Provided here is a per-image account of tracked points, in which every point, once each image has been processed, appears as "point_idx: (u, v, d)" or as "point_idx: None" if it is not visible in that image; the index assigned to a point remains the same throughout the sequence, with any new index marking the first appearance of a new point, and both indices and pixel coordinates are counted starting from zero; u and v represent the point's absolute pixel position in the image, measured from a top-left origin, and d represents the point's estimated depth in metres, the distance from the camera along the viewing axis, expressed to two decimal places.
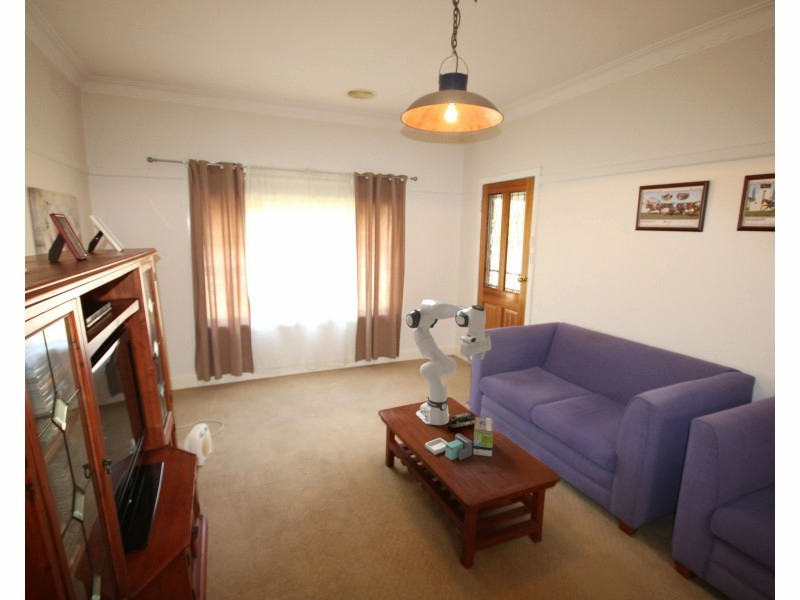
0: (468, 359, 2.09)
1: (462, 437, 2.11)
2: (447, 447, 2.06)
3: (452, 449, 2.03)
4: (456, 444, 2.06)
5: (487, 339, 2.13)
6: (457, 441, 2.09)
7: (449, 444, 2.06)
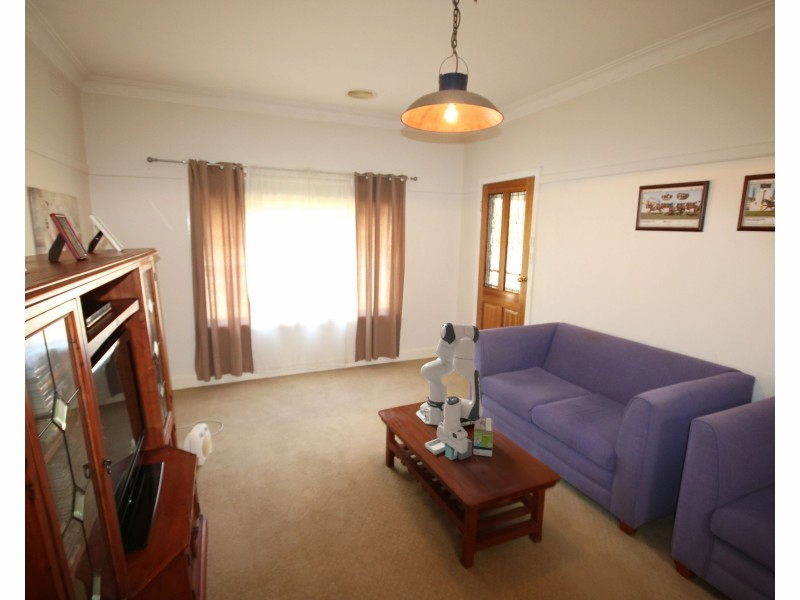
0: (456, 452, 2.03)
1: None
2: (447, 447, 2.06)
3: (452, 449, 2.03)
4: None
5: None
6: None
7: None
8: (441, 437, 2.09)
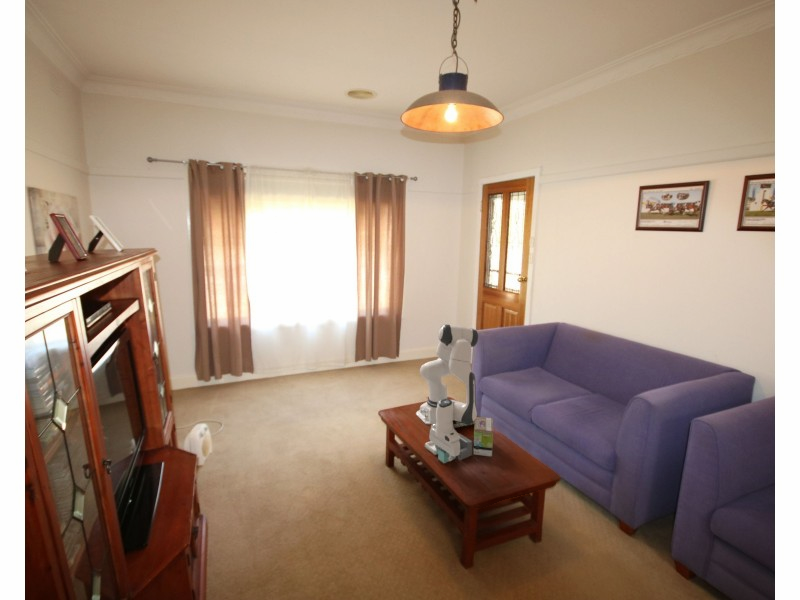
0: (451, 457, 1.99)
1: (462, 437, 2.11)
2: (440, 450, 2.03)
3: (445, 452, 2.01)
4: None
5: None
6: None
7: None
8: (434, 440, 2.06)
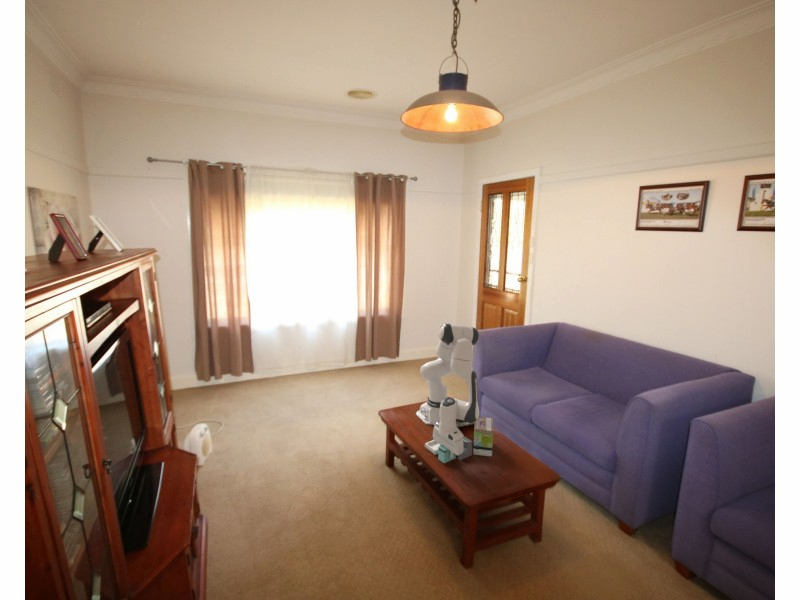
0: (452, 454, 2.01)
1: None
2: (440, 450, 2.03)
3: (445, 452, 2.01)
4: None
5: None
6: None
7: (442, 447, 2.03)
8: (437, 439, 2.07)
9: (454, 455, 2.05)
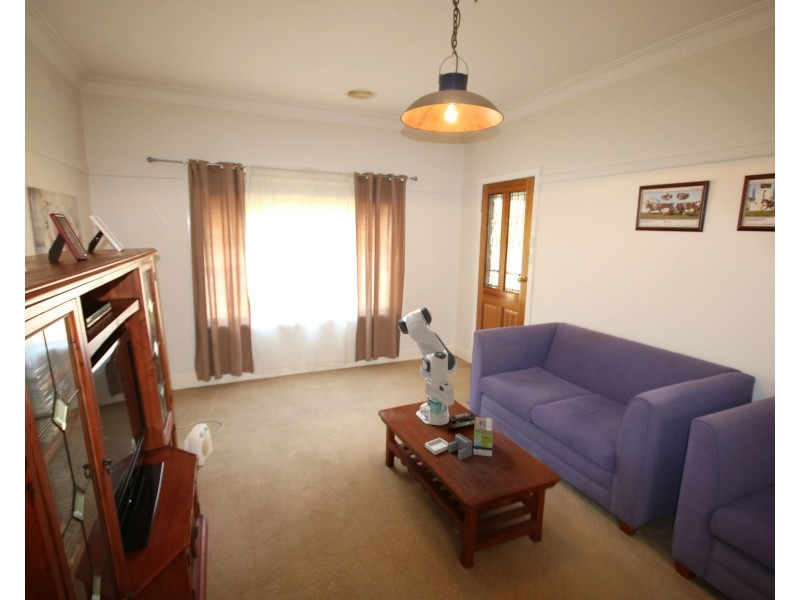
0: (443, 406, 2.07)
1: (462, 437, 2.11)
2: (431, 402, 2.09)
3: (436, 404, 2.07)
4: None
5: None
6: None
7: (433, 399, 2.09)
8: (429, 393, 2.13)
9: (445, 408, 2.11)
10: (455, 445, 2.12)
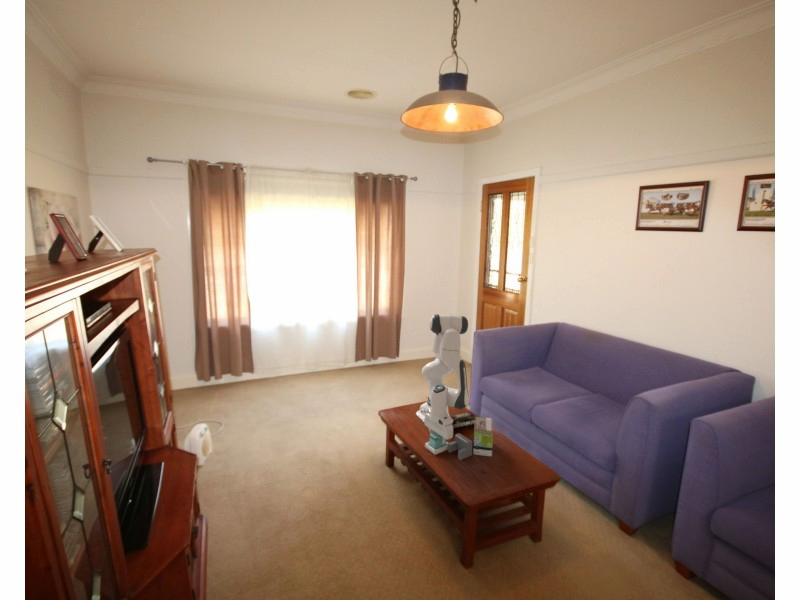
0: (445, 440, 2.09)
1: (462, 437, 2.11)
2: (431, 438, 2.13)
3: (435, 440, 2.10)
4: (440, 435, 2.13)
5: None
6: None
7: (433, 435, 2.13)
8: (428, 425, 2.17)
9: (445, 443, 2.15)
10: (455, 445, 2.12)
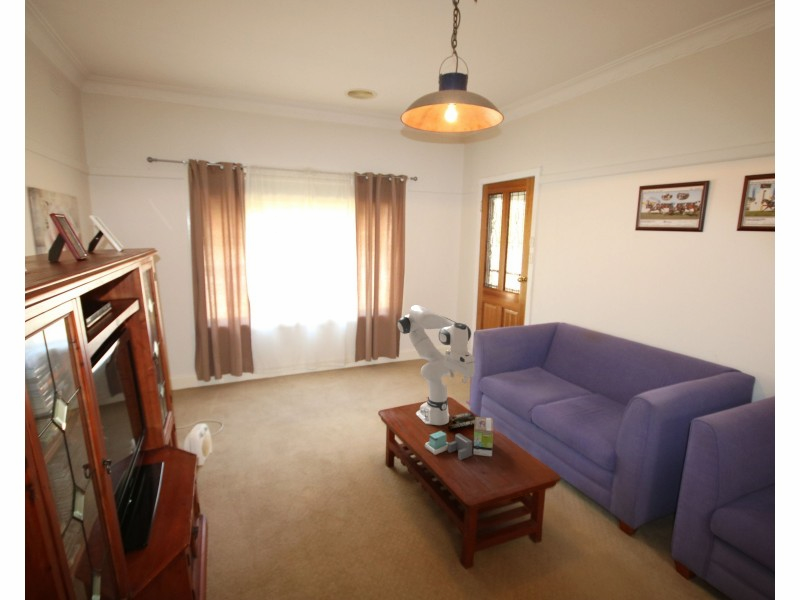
0: (466, 379, 2.03)
1: (462, 437, 2.11)
2: (431, 438, 2.13)
3: (435, 440, 2.10)
4: (440, 435, 2.13)
5: None
6: (440, 432, 2.16)
7: (433, 435, 2.13)
8: (448, 365, 2.11)
9: (445, 443, 2.15)
10: (455, 445, 2.12)
